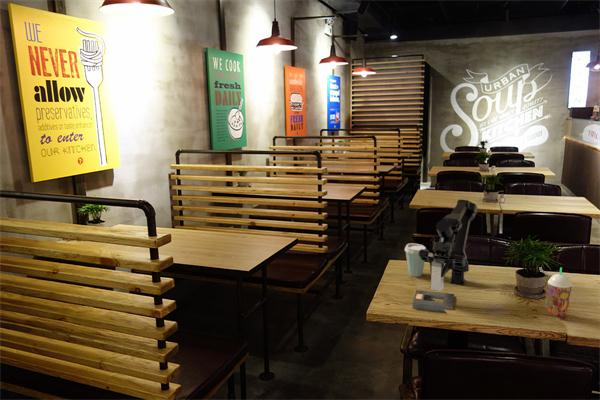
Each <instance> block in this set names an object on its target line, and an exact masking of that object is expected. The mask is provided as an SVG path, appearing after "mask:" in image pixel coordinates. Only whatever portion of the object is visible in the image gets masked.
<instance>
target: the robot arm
mask: <svg viewBox="0 0 600 400" xmlns="http://www.w3.org/2000/svg"><path fill="white" fill-rule="evenodd" d="M476 214H478V205H477V204H476V203H473V202H472V201H470V200H469V199H458V200H457V202H456V205H455V207H454V208H453V210H452V212H451V213H450V214H447V215H445V216H444V217H442V219H441V220H439V221H438V222H437V223H436V224H435V228H436V231H437V233H438V235H439V237H440V238H439V241H437V242H436V241H434V242H433V244H432V245H433V247H432V250H433V252H434V253H432V252H430V250H429V249H426V250H424V249H421V250H420V251H419V253H418V254H419V256H420V258H421V260H424V261H425V262H428V263H429V267H430V269H429V270H430V272H431V271H432V262H433V261H434V260H435V259H436V260H442V261H444V268H443V271H442V275H441V277H443V276H444V277H445V275H446V274H447V273H448V272H449V271H451V275H450V281H449V283H450V284H452V285H453V284H455V285H466V279H465V273H467V272H469V271H470V267H469V266H470V264H469V261H468V260H467V259H468V257H467V254H466V252H465V251H466V250H465V249H466V245H467V240H468V234H469V230H470V229H469V228H470V225H471V222H472V221H473V220H474V219H475V217H476ZM455 232H457V234H455ZM455 239H456V240H455ZM454 241H455V245H454ZM453 246H454V248H453Z"/></svg>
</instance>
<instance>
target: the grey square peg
mask: <svg viewBox="0 0 600 400" xmlns="http://www.w3.org/2000/svg"><path fill="white" fill-rule="evenodd" d="M444 266H445V260H439V259H435V260H434V261H433V262H432V271H431V270H430V275H431V276H430V277H431V278H430V279H431V280H430V290H433V291H436V292H441V291H442V290H444V284H445V283H444V281H445V275H444V276H443V277H441V275H442V271H443V268H444Z"/></svg>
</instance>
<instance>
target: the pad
mask: <svg viewBox="0 0 600 400" xmlns="http://www.w3.org/2000/svg"><path fill="white" fill-rule="evenodd" d="M480 307H481V308H482V309H483V310H484V311H486V312H487V313H488V314H490V315H500V314H501V315H503V314H510V312H509V311H508V310H507V309H505V308H504V307H502V306H501V304H499V303H498V304H487V305H480Z"/></svg>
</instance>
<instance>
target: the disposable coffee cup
mask: <svg viewBox="0 0 600 400" xmlns="http://www.w3.org/2000/svg"><path fill="white" fill-rule="evenodd" d="M421 249H424V250H427V247H426V246H424V245H423V244H419V243H415V242H414V243H412V242H411V243H407V244H406V245H405V247H404V252H405V257H406V263H407V271H408V275H409V276H411V277H414V278H417V277H421V276H422V275H423V272H424V266H425V262H426V261H424V260H421V258H420V256H419V254H418V253H419V251H420V250H421Z"/></svg>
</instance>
